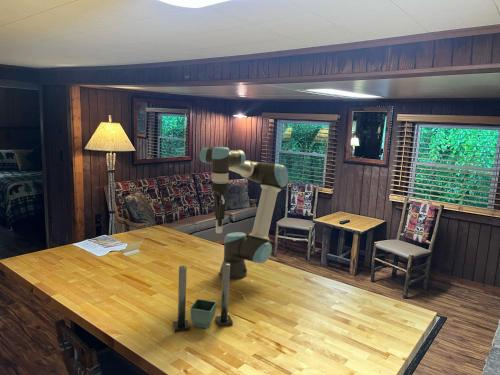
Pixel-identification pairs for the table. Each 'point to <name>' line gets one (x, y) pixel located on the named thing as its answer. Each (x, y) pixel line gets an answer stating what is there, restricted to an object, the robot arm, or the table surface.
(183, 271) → the post
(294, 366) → the table surface
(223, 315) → the post
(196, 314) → the flower pot
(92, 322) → the table surface
